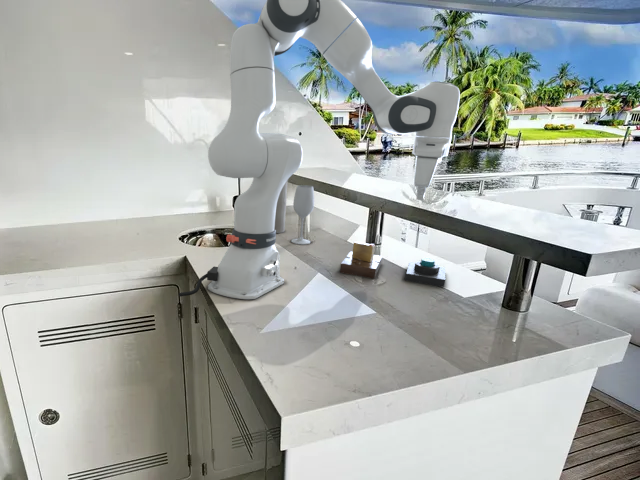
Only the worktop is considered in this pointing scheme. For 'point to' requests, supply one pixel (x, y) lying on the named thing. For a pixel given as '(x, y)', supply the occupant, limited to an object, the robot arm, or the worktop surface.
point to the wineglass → (303, 207)
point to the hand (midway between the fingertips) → (419, 199)
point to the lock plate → (360, 266)
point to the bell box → (426, 274)
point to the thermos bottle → (281, 210)
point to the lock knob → (363, 251)
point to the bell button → (427, 262)
